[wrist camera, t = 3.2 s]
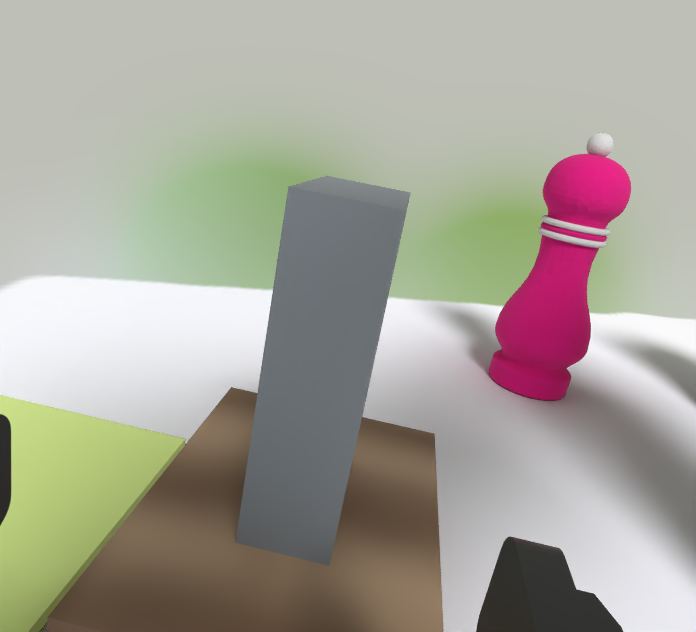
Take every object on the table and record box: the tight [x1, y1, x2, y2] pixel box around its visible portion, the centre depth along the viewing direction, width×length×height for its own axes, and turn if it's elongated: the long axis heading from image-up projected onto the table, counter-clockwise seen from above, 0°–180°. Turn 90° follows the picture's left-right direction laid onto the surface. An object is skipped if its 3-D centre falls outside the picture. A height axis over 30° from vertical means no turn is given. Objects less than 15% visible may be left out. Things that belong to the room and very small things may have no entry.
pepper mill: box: [489, 133, 631, 401], centre depth 43 cm, size 7×7×20 cm
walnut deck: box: [47, 387, 443, 632], centre depth 21 cm, size 14×10×4 cm
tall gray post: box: [235, 176, 410, 566], centre depth 18 cm, size 6×3×11 cm, turn 173°
